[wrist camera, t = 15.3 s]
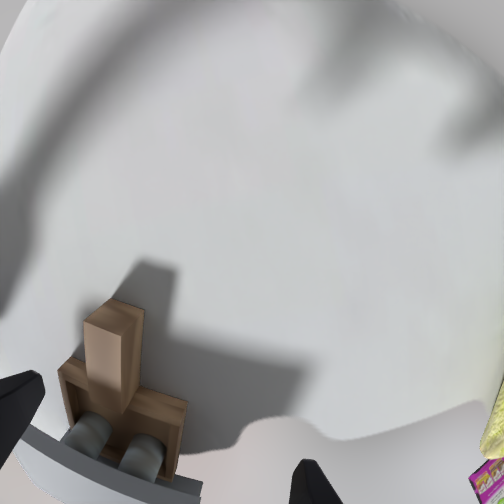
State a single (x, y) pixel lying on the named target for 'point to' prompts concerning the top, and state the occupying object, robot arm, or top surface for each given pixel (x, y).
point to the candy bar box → (489, 482)
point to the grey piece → (93, 476)
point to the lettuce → (494, 431)
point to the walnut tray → (120, 399)
